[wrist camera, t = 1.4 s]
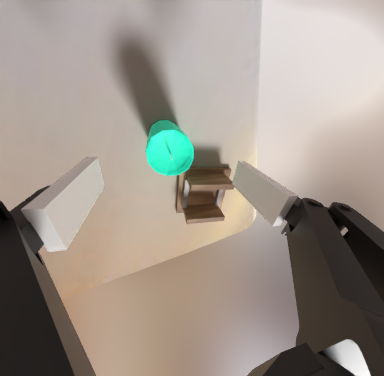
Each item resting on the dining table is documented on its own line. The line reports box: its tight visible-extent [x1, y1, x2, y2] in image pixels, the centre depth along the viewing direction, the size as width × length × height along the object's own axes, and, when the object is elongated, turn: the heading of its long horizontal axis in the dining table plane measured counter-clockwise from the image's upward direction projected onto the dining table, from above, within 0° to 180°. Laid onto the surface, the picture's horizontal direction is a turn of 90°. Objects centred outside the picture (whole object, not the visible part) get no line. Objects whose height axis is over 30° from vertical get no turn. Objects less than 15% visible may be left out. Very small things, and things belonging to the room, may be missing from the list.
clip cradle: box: [176, 167, 234, 224], centre depth 32 cm, size 12×12×6 cm
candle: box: [146, 120, 194, 176], centre depth 21 cm, size 6×6×12 cm
